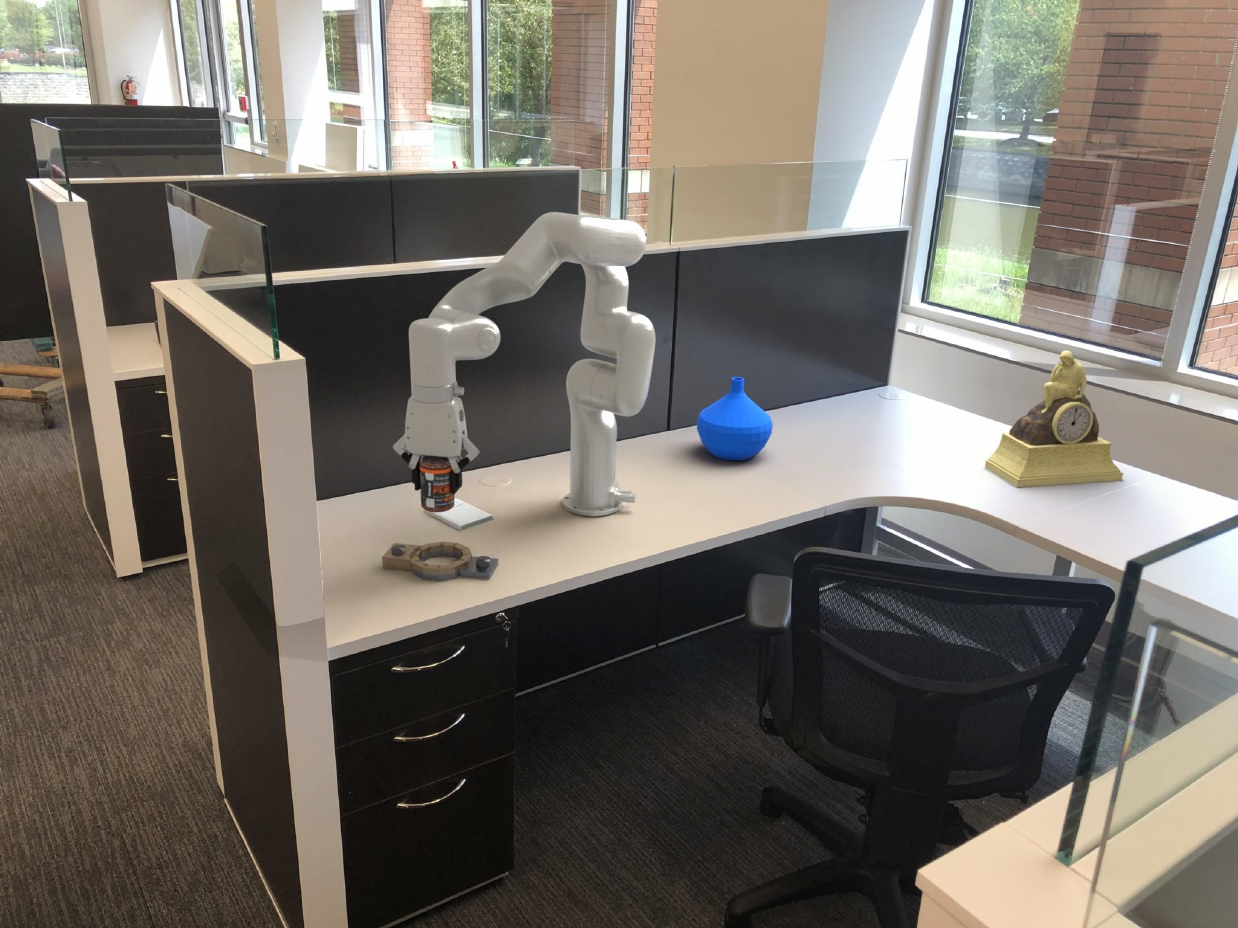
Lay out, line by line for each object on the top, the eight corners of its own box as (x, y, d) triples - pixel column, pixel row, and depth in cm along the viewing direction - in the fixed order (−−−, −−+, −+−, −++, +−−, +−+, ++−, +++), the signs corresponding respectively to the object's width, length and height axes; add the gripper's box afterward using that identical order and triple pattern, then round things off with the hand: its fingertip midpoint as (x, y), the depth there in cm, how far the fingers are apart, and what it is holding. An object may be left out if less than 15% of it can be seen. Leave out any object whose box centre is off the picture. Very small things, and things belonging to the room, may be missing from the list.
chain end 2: (502, 558, 181) (501, 546, 180) (485, 585, 171) (485, 573, 170) (422, 550, 183) (421, 539, 182) (401, 577, 173) (400, 565, 172)
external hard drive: (460, 533, 193) (424, 514, 201) (493, 522, 198) (457, 503, 206) (460, 525, 192) (424, 506, 200) (493, 514, 197) (456, 496, 206)
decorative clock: (1016, 487, 223) (1040, 361, 212) (984, 468, 234) (1006, 347, 224) (1121, 480, 229) (1149, 357, 218) (1085, 461, 241) (1110, 343, 230)
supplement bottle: (435, 516, 169) (432, 455, 165) (414, 507, 173) (411, 447, 169) (461, 507, 173) (460, 447, 169) (440, 498, 177) (438, 439, 173)
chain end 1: (478, 556, 182) (478, 541, 181) (460, 583, 172) (460, 568, 171) (399, 548, 184) (398, 534, 183) (377, 574, 174) (376, 559, 173)
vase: (748, 438, 249) (753, 366, 243) (783, 462, 233) (790, 386, 227) (683, 445, 243) (687, 371, 236) (715, 470, 227) (720, 392, 220)
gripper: (488, 389, 168) (490, 485, 174) (393, 382, 170) (398, 477, 177) (476, 401, 161) (478, 501, 167) (377, 394, 163) (383, 493, 170)
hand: (437, 488), depth 172 cm, fingers closed on supplement bottle, 6 cm apart
